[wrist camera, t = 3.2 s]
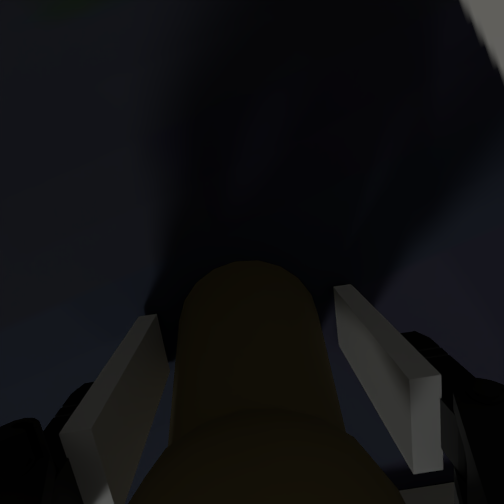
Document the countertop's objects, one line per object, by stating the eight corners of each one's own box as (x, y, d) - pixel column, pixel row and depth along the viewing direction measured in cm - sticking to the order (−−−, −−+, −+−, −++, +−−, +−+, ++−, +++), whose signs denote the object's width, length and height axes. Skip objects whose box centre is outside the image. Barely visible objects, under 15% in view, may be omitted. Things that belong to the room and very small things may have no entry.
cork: (278, 233, 14) (414, 446, 3) (341, 350, 15) (589, 777, 4) (151, 303, 14) (-104, 693, 4) (223, 410, 16) (192, 927, 5)
